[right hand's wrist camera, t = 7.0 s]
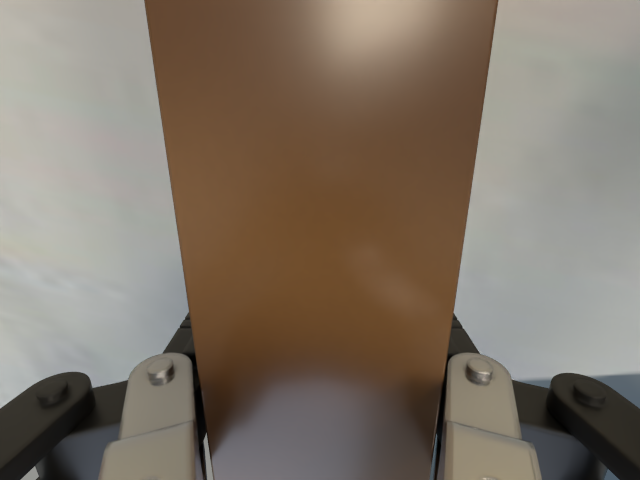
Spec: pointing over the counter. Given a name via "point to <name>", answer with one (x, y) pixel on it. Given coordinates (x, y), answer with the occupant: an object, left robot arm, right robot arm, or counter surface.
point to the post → (321, 220)
